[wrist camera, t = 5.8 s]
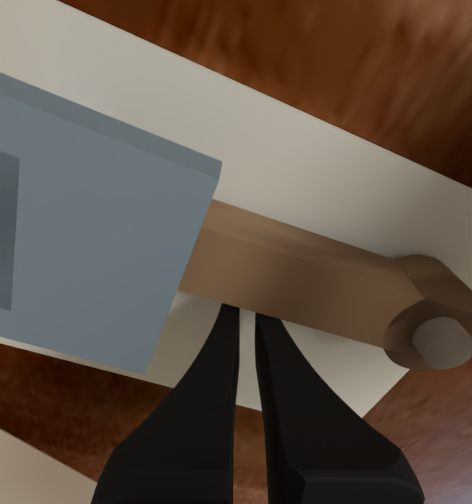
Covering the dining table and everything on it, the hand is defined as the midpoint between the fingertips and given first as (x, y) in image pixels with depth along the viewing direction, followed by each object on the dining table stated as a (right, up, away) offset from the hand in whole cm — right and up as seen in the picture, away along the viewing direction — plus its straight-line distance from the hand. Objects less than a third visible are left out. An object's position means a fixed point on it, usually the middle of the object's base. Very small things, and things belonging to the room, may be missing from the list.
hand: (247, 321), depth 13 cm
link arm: (+2, +2, 0) cm, 3 cm away
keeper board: (-1, +2, +2) cm, 2 cm away
